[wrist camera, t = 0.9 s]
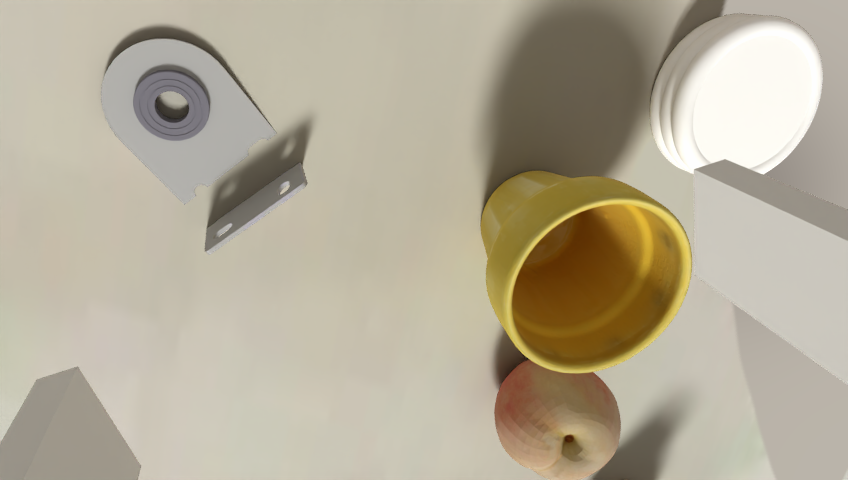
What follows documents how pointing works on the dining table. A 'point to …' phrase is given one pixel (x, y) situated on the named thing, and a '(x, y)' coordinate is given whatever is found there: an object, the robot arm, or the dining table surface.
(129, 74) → the bracket
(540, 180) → the plant pot
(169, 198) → the dining table surface
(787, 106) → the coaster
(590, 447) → the fruit
